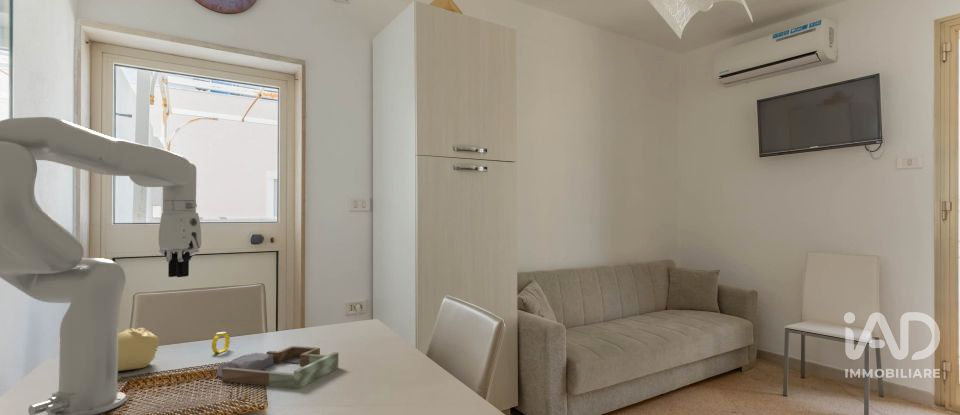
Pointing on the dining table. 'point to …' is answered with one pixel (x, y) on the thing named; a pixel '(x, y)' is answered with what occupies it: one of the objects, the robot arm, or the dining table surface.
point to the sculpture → (136, 348)
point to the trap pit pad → (292, 360)
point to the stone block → (248, 362)
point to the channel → (311, 371)
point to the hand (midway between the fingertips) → (178, 276)
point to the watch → (227, 342)
